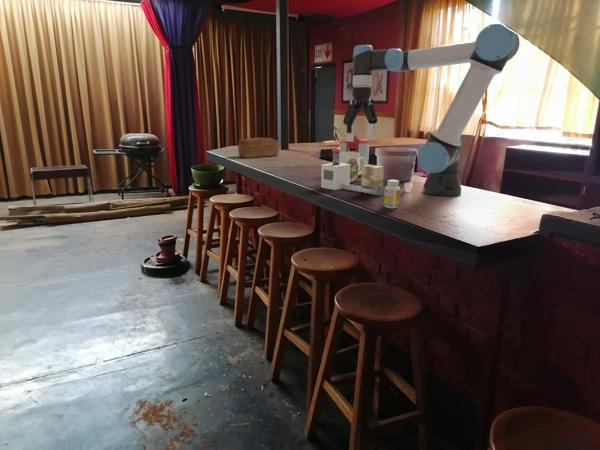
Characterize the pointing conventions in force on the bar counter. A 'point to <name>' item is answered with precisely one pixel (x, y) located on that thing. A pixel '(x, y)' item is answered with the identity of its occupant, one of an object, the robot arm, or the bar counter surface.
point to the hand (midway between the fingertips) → (360, 140)
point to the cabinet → (335, 175)
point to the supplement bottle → (392, 194)
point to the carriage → (372, 177)
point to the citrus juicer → (356, 149)
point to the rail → (359, 189)
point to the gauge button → (336, 155)
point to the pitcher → (352, 163)
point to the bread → (258, 147)
